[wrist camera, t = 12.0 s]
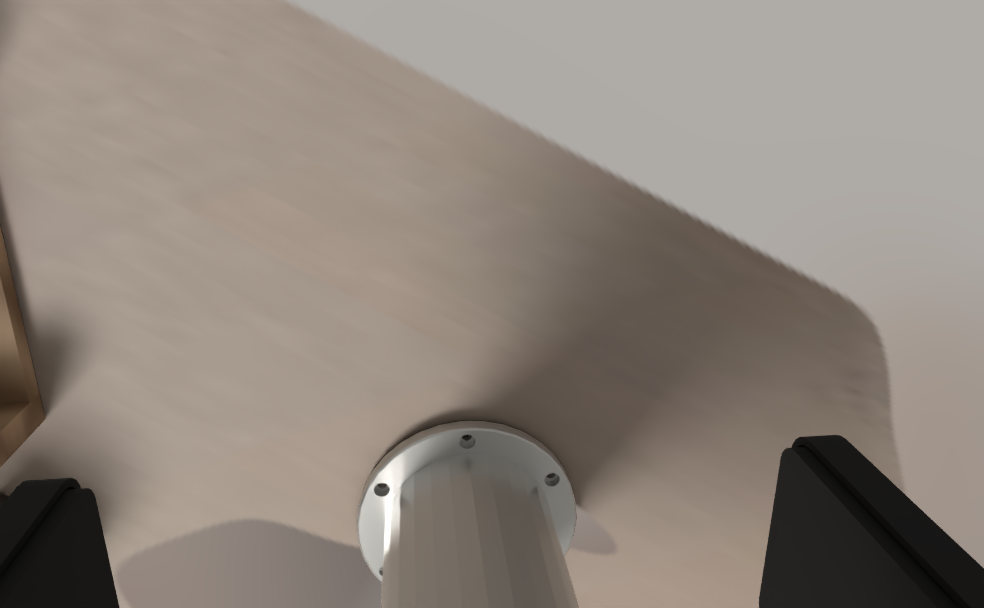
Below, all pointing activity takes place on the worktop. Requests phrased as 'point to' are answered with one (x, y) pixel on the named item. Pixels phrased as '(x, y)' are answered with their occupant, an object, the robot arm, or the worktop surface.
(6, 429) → the cabinet track
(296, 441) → the worktop surface
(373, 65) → the worktop surface
